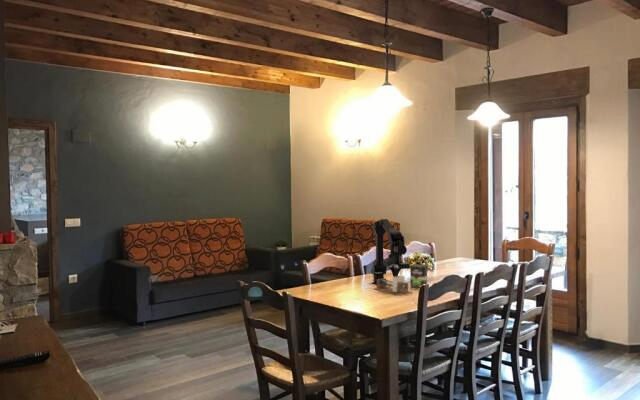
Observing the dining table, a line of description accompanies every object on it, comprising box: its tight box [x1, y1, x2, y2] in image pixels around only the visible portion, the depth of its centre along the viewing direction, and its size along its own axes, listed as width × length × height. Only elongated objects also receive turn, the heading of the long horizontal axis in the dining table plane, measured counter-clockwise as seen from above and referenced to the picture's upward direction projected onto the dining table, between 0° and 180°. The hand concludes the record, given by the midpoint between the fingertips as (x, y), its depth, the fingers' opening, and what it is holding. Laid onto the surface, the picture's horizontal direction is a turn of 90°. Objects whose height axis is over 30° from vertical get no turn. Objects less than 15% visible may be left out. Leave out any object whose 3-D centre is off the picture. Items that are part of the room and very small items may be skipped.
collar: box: [392, 274, 406, 292], centre depth 313 cm, size 3×7×9 cm, turn 128°
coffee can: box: [409, 263, 428, 291], centre depth 326 cm, size 10×10×14 cm
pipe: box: [381, 279, 406, 294], centre depth 318 cm, size 20×10×6 cm, turn 38°
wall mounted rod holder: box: [373, 277, 413, 296], centre depth 318 cm, size 22×10×6 cm, turn 38°
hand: (395, 278), depth 315 cm, fingers closed
